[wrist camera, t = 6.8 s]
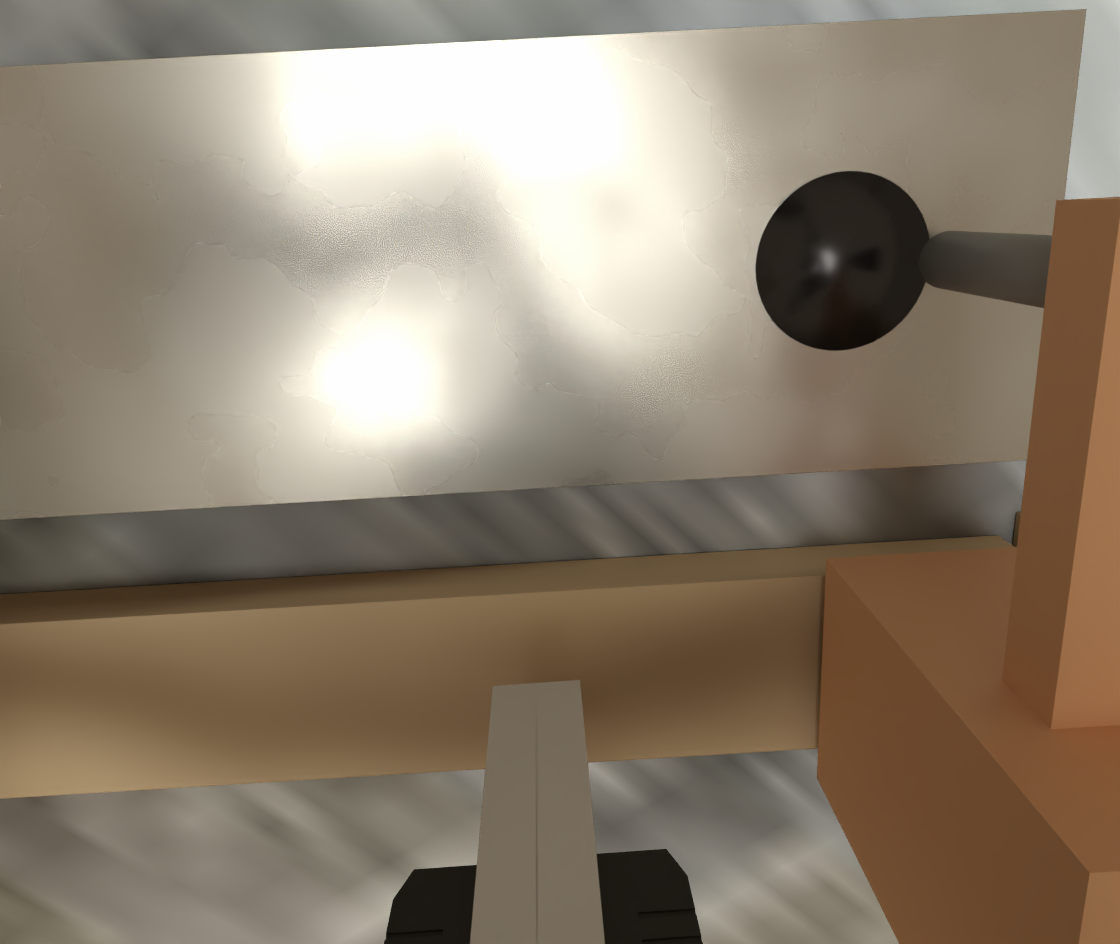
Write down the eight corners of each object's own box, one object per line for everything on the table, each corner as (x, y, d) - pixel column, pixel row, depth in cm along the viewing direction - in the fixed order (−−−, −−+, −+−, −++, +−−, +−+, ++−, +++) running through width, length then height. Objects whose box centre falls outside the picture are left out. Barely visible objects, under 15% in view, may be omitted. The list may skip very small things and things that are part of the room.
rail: (-396, 596, 18) (-648, 699, 14) (1085, 508, 18) (1231, 586, 14) (-313, 795, 19) (-521, 938, 16) (1057, 711, 20) (1183, 832, 16)
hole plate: (-506, 104, 15) (-582, 96, 14) (1052, 21, 15) (1088, 8, 14) (-344, 524, 18) (-397, 544, 16) (1007, 446, 18) (1036, 460, 17)
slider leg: (837, 207, 15) (1196, 201, 7) (1065, 194, 15) (1694, 173, 7) (814, 771, 18) (1035, 1215, 10) (1000, 759, 18) (1368, 1194, 10)
